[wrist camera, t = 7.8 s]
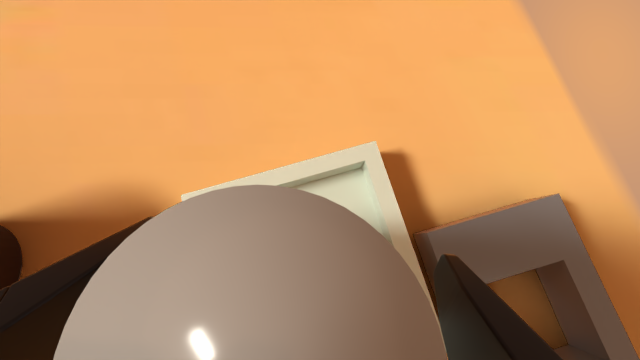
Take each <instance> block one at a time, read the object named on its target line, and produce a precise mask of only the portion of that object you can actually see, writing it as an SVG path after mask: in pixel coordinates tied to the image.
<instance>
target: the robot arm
mask: <svg viewBox="0 0 640 360" xmlns="http://www.w3.org/2000/svg"><path fill="white" fill-rule="evenodd" d="M152 218H153V217H148V218H146V219H144V220H142V221H140V222H138V223H136V224H134V225H132V226H130V227H128V228H126V229H124V230H122V231H120V232H118V233H116V234H114V235H112V236H110V237H107V238H105V239H103V240H101V241H99V242H97V243H95V244H93V245H91V246H89V247H87V248H85V249H83V250H81V251H79V252H77V253H75V254H73V255H71V256H69V257H67V258H64V259H62V260H60V261H58V262H56V263H54V264H52V265H50V266H48V267H46V268H44V269H42V270H40V271H38V272H36V273H34V274H32V275H30V276H28V277H26V278H24V279H21V280H19V281H17V282H15V283H13V284H12V285H11V286H7V287H5V288H3V289H1V290H0V360H53V358H54V354H55V351H56V349H57V346H58V343H59V340H60V338H61V335H62V332H63V329H64V326H65V324H66V322H67V320H68V318H69V316H70V314H71V312H72V310H73V308H74V306H75V304H76V302H77V300H78V298H79V297H80V295H81V294H82V292H83V290H84V289H85V287H86V286H87V284H88V282H89V281H90V279H91V278H92V276H93V275H94V274H95V273H96V271H97V270H98V269H99V268H100V266H101V265H102V264H103V262H104V261H105V260H106V259H107V257H108V256H109V255H110V254H111V253H112V252H113V251H114V250H115V249H116V248H117V247H118V246H119V245H120V244H121V243H122V242H123V241H124V240H125V239H126V238H127V237H128V236H130V235H131V234H132V233H133V232H135V231H136V230H137V229H138V228H139V227H141V226H142V225H143V224H144V223H146V222H147V221H149V220H150V219H152ZM433 278H434V285H435V293H436V300H437V308H438V315H439V322H440V327H441V332H442V336H443V340H444V344H445V348H446V352H447V356H448V360H563V359H562V358H561V357H560V356H559V355H558V354H557V353H556V352H555V351H554V350H553V349H552V348H551V347H550V346H549V345H548V344H547V343H546V342H545V341H544V340H543V339H542V338H541V337H540V336H539V335H538V334H537V333H536V332H535V331H534V330H533V329H532V328H531V327H530V326H528V325H527V324H526V323H525V322H524V321H523V320H522V319H521V318H520V317H519V316H518V315H517V314H516V313H515V312H514V311H513V310H512V309H511V308H510V307H509V306H508V305H507V304H506V303H505V302H504V301H503V300H502V299H501V298H500V297H499V296H498V295H497V294H496V293H495V292H494V291H493V290H492V289H491V288H490V287H489V286H488V285H487V284H486V283H485V282H484V281H483V280H481V279H480V278H479V277H478V276H477V275H476V274H475V273H474V272H473V271H472V270H471V269H470V268H469V267H468V266H467V265H466V264H465V263H464V262H463V261H462V260H461V259H460V258H459V257H458V256H456V255H453V254H442V255H441V256H440V258H439V261H438V263H437V265H436V267H435V270H434V274H433Z"/></svg>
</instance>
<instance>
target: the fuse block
mask: <svg viewBox="0 0 640 360" xmlns="http://www.w3.org/2000/svg"><path fill="white" fill-rule="evenodd" d="M413 235H414V238H415V241H416V244H417V247H418V249H419V252H420V255H421V258H422V261H423V264H424V266H425V269H426V272H427V275H428V278H429V280H430V283H431V286H432V289H433V292H434V295H435V297H436V293H435V285H434V278H433V274H434V270H435V267H436V265H437V263H438V261H439V258H440V256H441V255H442V254H453V255H456V256H458V257H459V258H460V259H461V260H462V261H463V262H464V263H465V264H466V265H467V266H468V267H469V268H470V269H471V270H472V271H473V272H474V273H475V274H476V275H477V276H478V277H479V278H480V279H481V280H483V281H484V282H485V283H486V284H488V283H491V282H494V281H497V280H501V279H504V278H507V277H510V276H513V275H517V274H520V273H523V272H526V271H530V270H533V269H536V272H537V274H538V276H539V278H540V281H541V283H542V285H543V287H544V290H545V292H546V294H547V297H548V299H549V301H550V303H551V306H552V308H553V310H554V313H555V315H556V317H557V319H558V322H559V324H560V326H561V328H562V331H563V333H564V335H565V338H566V340H567V342H568V344H569V345H566V346H563V347H560V348H557V349H554V351H555V352H556V353H557V354H558V355H559V356H560V357H561V358H562V359H563V360H639V358H638V356H637V354H636V352H635V350H634V347H633V345H632V343H631V341H630V339H629V337H628V335H627V333H626V331H625V329H624V327H623V325H622V323H621V321H620V319H619V317H618V314H617V312H616V310H615V308H614V306H613V304H612V302H611V300H610V298H609V296H608V294H607V292H606V290H605V288H604V286H603V284H602V281H601V279H600V277H599V275H598V273H597V271H596V269H595V267H594V265H593V263H592V261H591V259H590V257H589V255H588V253H587V251H586V248H585V246H584V244H583V242H582V240H581V238H580V236H579V234H578V232H577V230H576V228H575V226H574V224H573V222H572V220H571V218H570V215H569V213H568V211H567V209H566V207H565V205H564V203H563V201H562V199H561V197H560V195H559V194H554V195H549V196H544V197H539V198H534V199H529V200H525V201H522V202H518V203H515V204H512V205H508V206H505V207H502V208H498V209H495V210H492V211H488V212H485V213H482V214H478V215H475V216H471V217H468V218H465V219H461V220H458V221H455V222H451V223H448V224H445V225H441V226H438V227H434V228H431V229H428V230H424V231H421V232H418V233H414V234H413Z"/></svg>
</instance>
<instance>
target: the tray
mask: <svg viewBox="0 0 640 360" xmlns="http://www.w3.org/2000/svg"><path fill="white" fill-rule="evenodd" d="M244 185H273V186H283V187H288V188H294V189H299V190H303V191H306V192H309V193H313V194H316V195H319V196H322V197H324V198H327V199H329V200H331V201H333V202H335V203H337V204H339V205H341V206H343V207H345V208H347V209H348V210H350V211H351V212H353V213H354V214H356V215H358V216H359V217H361V218H362V219H364V220H365V221H366V222H367V223H369V224H370V225H371V226H372V227H373V228H375V229H376V230H377V231H378V232H379V233H380V234H382V235H383V236H384V237H385V238H386V239H387V240H388V242H389V243H390V244H391V245H392V246H393V247H394V248H395V249H396V250H397V251H398V252H399V254H400V255H401V256H402V258H403V259H404V260H405V262H406V263H407V265H408V266H409V267H410V269H411V270H412V271H413V273H414V274H415V276H416V278H417V280H418V281H419V283H420V285H421V287H422V289H423V290H424V292H425V294H426V296H427V298H428V300H429V302H430V305H431V307H432V310H433V312H434V315H435V317H436V320H437V322H438V325H439V328H440V332H441V327H440V323H439V320H438V317H437V314H436V311H435V309H434V306H433V303H432V300H431V297H430V294H429V292H428V289H427V286H426V283H425V280H424V277H423V274H422V272H421V269H420V266H419V263H418V260H417V257H416V254H415V252H414V249H413V246H412V243H411V240H410V237H409V235H408V232H407V229H406V226H405V223H404V220H403V217H402V215H401V212H400V209H399V206H398V203H397V200H396V198H395V195H394V192H393V189H392V186H391V183H390V180H389V178H388V175H387V172H386V169H385V166H384V163H383V160H382V158H381V155H380V152H379V149H378V146H377V143H376V141H373V142H370V143H366V144H362V145H359V146H355V147H352V148H348V149H344V150H341V151H337V152H334V153H330V154H326V155H323V156H319V157H316V158H312V159H309V160H305V161H301V162H298V163H294V164H291V165H287V166H283V167H280V168H276V169H273V170H269V171H266V172H262V173H258V174H255V175H251V176H248V177H244V178H240V179H237V180H233V181H230V182H226V183H223V184H219V185H215V186H212V187H208V188H205V189H201V190H197V191H194V192H190V193H187V194H183V195H181V198H182V201H185V200H187V199H189V198H192V197H195V196H198V195H201V194H204V193H207V192H210V191H213V190H218V189H223V188H228V187H233V186H244ZM441 336H442V332H441ZM442 339H443V336H442ZM443 343H444V340H443ZM444 347H445V344H444ZM445 350H446V348H445ZM446 353H447V352H446Z"/></svg>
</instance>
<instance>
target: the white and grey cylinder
mask: <svg viewBox="0 0 640 360" xmlns="http://www.w3.org/2000/svg"><path fill="white" fill-rule="evenodd" d="M53 360H447V356H446V350H445V347H444V343H443V339H442V336H441V332H440V328H439V325H438V322H437V320H436V317H435V315H434V312H433V310H432V307H431V305H430V302H429V300H428V298H427V296H426V294H425V292H424V290H423V289H422V287H421V285H420V283H419V281H418V280H417V278H416V276H415V274H414V273H413V271H412V270H411V269H410V267H409V266H408V265H407V263H406V262H405V260H404V259H403V258H402V256H401V255H400V254H399V252H398V251H397V250H396V249H395V248H394V247H393V246H392V245H391V244H390V243H389V242H388V240H387V239H386V238H385V237H384V236H383V235H382V234H380V233H379V232H378V231H377V230H376V229H375V228H373V227H372V226H371V225H370V224H369V223H367V222H366V221H365V220H364V219H362V218H361V217H359V216H358V215H356V214H354V213H353V212H351V211H350V210H348V209H347V208H345V207H343V206H341V205H339V204H337V203H335V202H333V201H331V200H329V199H327V198H324V197H322V196H319V195H316V194H313V193H309V192H306V191H303V190H299V189H294V188H288V187H283V186H273V185H244V186H233V187H228V188H223V189H218V190H213V191H210V192H207V193H204V194H201V195H198V196H195V197H192V198H189V199H187V200H185V201H182V202H180V203H178V204H176V205H174V206H172V207H170V208H168V209H166V210H165V211H163V212H161V213H160V214H158V215H157V216H155V217H153V218H152V219H150V220H149V221H147V222H146V223H144V224H143V225H142V226H141V227H139V228H138V229H137V230H136V231H135V232H133V233H132V234H131V235H130V236H128V237H127V238H126V239H125V240H124V241H123V242H122V243H121V244H120V245H119V246H118V247H117V248H116V249H115V250H114V251H113V252H112V253H111V254H110V255H109V256H108V257H107V259H106V260H105V261H104V262H103V264H102V265H101V266H100V268H99V269H98V270H97V271H96V273H95V274H94V275H93V276H92V278H91V279H90V281H89V282H88V284H87V286H86V287H85V289H84V290H83V292H82V294H81V295H80V297H79V298H78V300H77V302H76V304H75V306H74V308H73V310H72V312H71V314H70V316H69V318H68V320H67V322H66V324H65V326H64V329H63V332H62V335H61V338H60V340H59V343H58V346H57V349H56V351H55V354H54V358H53Z"/></svg>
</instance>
